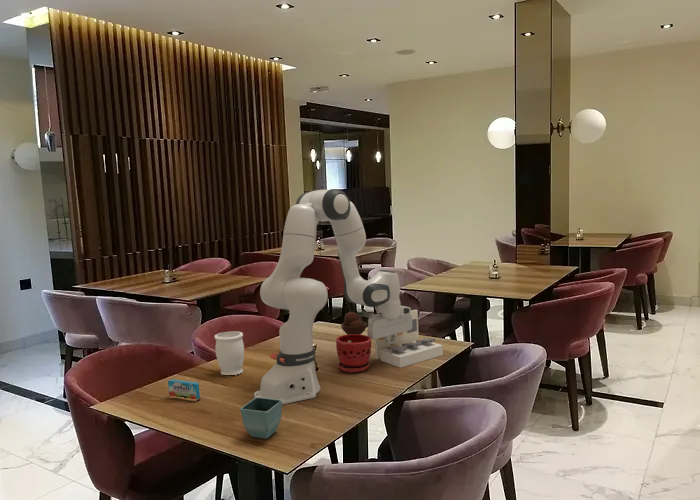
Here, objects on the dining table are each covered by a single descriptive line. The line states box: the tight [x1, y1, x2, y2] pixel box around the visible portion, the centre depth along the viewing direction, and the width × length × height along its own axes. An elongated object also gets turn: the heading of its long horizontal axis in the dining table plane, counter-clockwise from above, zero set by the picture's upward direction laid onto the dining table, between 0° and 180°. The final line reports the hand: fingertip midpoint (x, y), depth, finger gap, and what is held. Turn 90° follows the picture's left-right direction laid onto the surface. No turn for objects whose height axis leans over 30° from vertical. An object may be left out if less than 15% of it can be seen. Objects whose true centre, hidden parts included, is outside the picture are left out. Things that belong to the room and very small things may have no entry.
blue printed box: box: [167, 378, 201, 399], centre depth 187 cm, size 12×2×6 cm, turn 65°
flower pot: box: [240, 397, 283, 440], centre depth 156 cm, size 9×9×9 cm
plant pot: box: [335, 334, 372, 373], centre depth 209 cm, size 13×13×12 cm
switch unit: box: [374, 309, 444, 369], centre depth 219 cm, size 22×15×16 cm
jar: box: [214, 330, 245, 376], centre depth 211 cm, size 11×10×15 cm
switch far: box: [416, 337, 436, 343], centre depth 223 cm, size 4×7×1 cm, turn 35°
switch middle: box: [402, 342, 421, 347], centre depth 218 cm, size 4×7×1 cm, turn 35°
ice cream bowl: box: [340, 311, 368, 343], centre depth 239 cm, size 11×11×15 cm
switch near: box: [387, 345, 407, 352], centre depth 214 cm, size 4×7×1 cm, turn 35°
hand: (390, 345), depth 217 cm, fingers closed, pressing on switch near
